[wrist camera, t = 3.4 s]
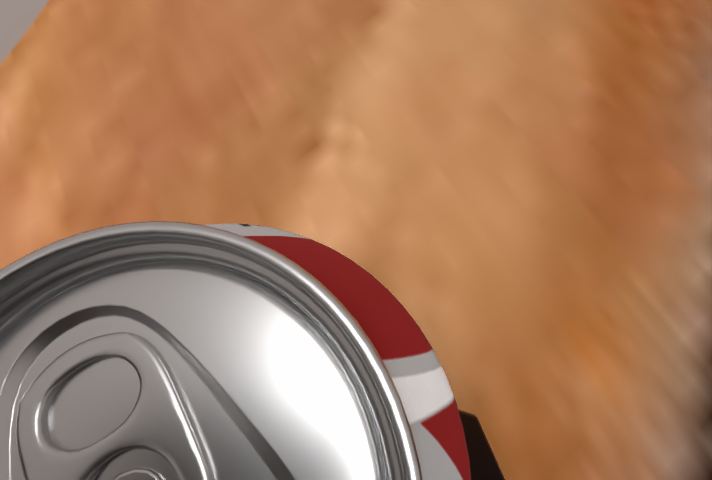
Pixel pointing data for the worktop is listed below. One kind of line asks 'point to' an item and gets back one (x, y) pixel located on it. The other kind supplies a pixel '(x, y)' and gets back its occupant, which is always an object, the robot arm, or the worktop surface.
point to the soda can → (215, 363)
